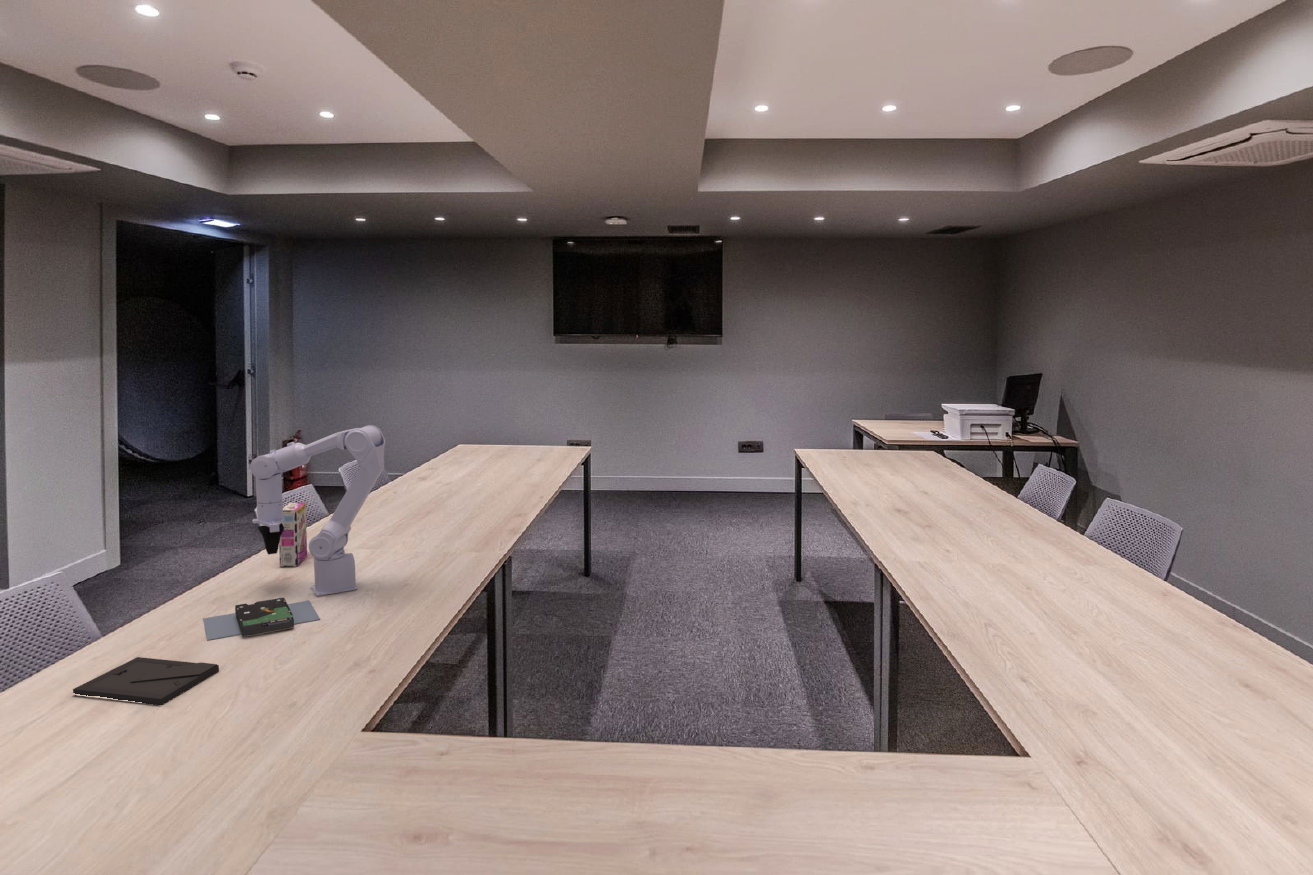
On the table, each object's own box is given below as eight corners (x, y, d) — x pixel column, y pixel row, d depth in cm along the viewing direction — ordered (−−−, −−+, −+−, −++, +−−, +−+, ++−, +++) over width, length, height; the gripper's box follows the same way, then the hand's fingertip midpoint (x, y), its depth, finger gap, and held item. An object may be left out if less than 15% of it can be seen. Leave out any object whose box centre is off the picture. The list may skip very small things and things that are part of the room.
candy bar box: (298, 567, 199) (296, 510, 197) (279, 568, 198) (276, 511, 196) (308, 555, 210) (306, 501, 207) (290, 556, 208) (287, 502, 206)
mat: (309, 601, 173) (309, 600, 173) (320, 619, 162) (320, 618, 162) (203, 619, 161) (203, 618, 161) (207, 640, 149) (207, 639, 149)
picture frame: (219, 674, 136) (138, 666, 139) (218, 663, 136) (137, 655, 138) (161, 709, 123) (73, 699, 126) (160, 697, 123) (72, 687, 125)
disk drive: (234, 616, 162) (242, 638, 151) (233, 605, 162) (241, 625, 150) (284, 608, 168) (295, 628, 157) (284, 596, 168) (295, 615, 156)
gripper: (248, 497, 182) (251, 548, 184) (255, 508, 170) (257, 563, 172) (279, 494, 186) (281, 544, 188) (287, 505, 174) (289, 558, 176)
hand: (272, 553), depth 180 cm, fingers closed
